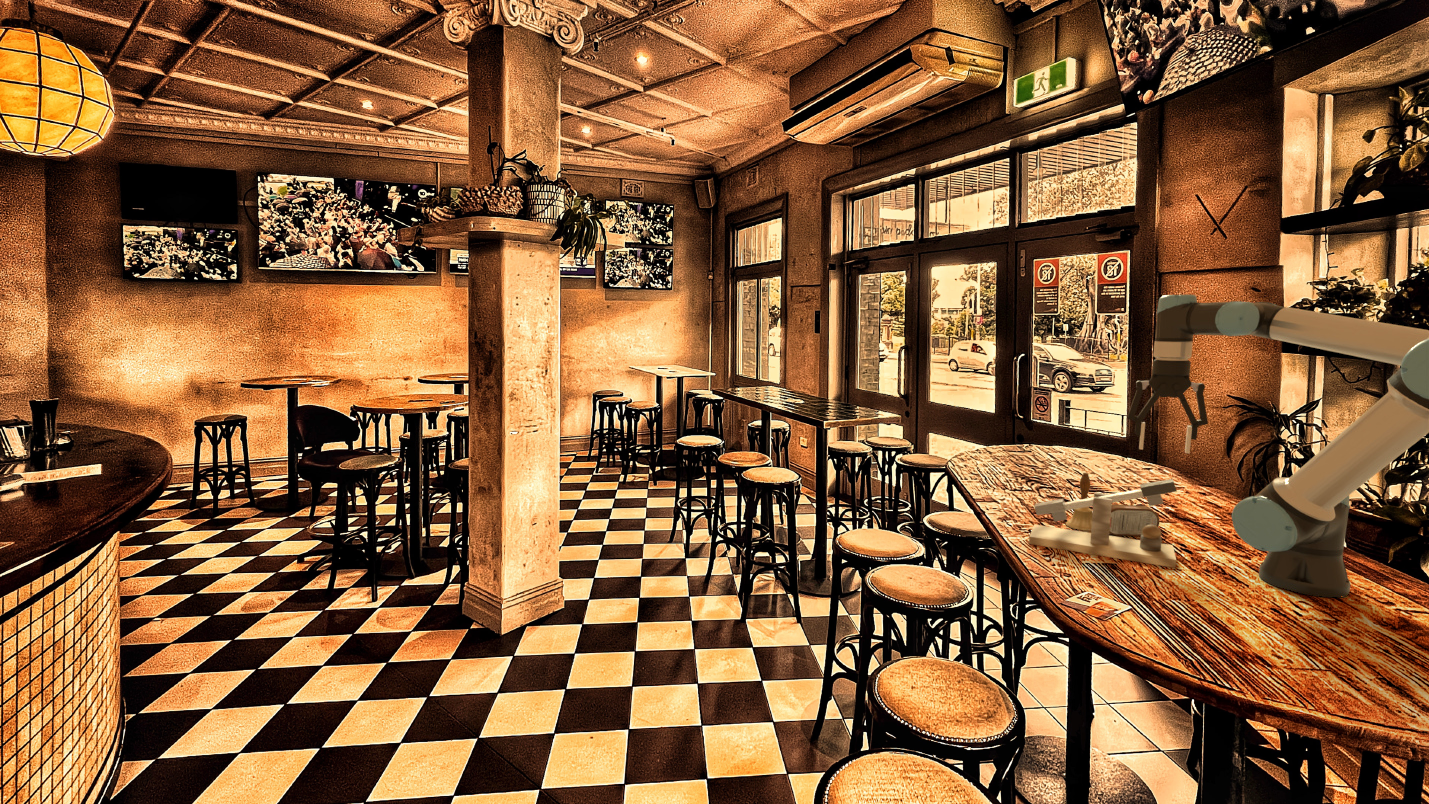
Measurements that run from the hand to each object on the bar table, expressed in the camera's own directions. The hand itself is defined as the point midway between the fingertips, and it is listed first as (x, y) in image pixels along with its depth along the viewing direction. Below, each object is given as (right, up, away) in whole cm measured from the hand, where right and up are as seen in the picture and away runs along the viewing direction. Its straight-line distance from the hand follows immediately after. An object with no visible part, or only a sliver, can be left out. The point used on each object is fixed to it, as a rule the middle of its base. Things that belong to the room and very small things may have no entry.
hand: (1163, 450), depth 157 cm
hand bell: (-4, -24, +27) cm, 37 cm away
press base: (-10, -26, +10) cm, 30 cm away
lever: (-9, -17, +8) cm, 21 cm away
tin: (+4, -25, +20) cm, 33 cm away
